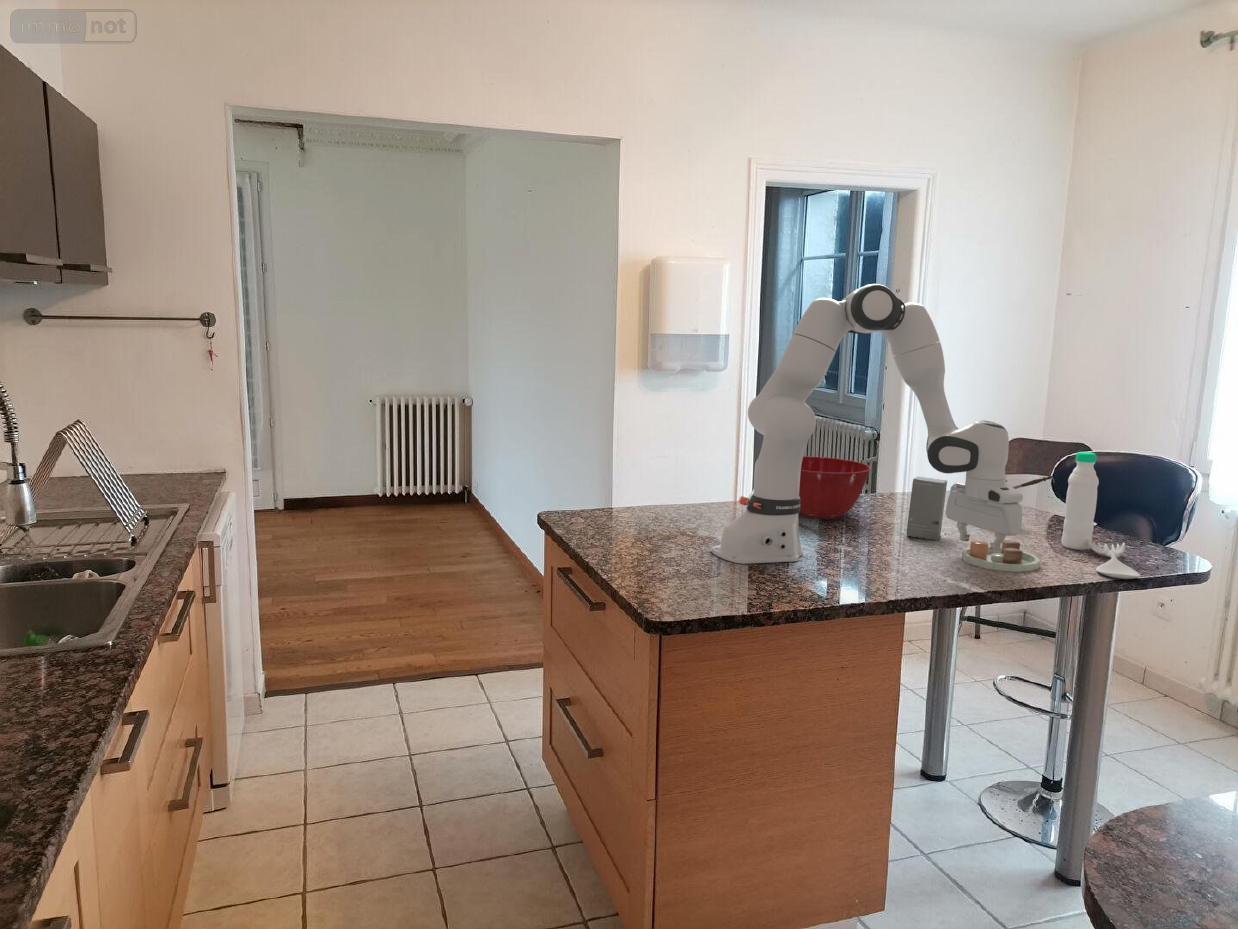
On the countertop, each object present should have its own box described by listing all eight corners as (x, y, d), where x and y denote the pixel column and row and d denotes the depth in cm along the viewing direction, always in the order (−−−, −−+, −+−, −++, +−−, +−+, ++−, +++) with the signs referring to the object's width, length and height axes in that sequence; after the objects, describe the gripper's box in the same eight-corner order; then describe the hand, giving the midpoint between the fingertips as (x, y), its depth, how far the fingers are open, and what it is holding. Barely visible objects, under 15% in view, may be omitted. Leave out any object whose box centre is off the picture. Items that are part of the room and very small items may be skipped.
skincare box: (905, 536, 243) (910, 478, 240) (910, 531, 249) (915, 475, 247) (938, 541, 239) (943, 482, 237) (942, 535, 245) (947, 478, 243)
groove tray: (1001, 578, 206) (1002, 568, 205) (946, 559, 221) (946, 549, 220) (1054, 571, 213) (1055, 561, 212) (997, 553, 228) (997, 543, 227)
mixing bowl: (861, 507, 280) (864, 457, 278) (873, 528, 252) (877, 473, 250) (768, 502, 284) (771, 453, 281) (770, 522, 256) (773, 468, 254)
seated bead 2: (1012, 570, 209) (1014, 553, 209) (998, 565, 213) (1000, 549, 212) (1024, 568, 211) (1026, 551, 210) (1010, 563, 215) (1012, 547, 214)
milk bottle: (1087, 545, 239) (1098, 451, 235) (1094, 551, 232) (1105, 455, 228) (1058, 542, 241) (1068, 449, 236) (1063, 549, 234) (1074, 453, 230)
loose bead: (978, 561, 216) (979, 545, 215) (965, 557, 219) (967, 541, 218) (990, 560, 217) (992, 544, 217) (977, 556, 221) (979, 540, 220)
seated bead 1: (1010, 561, 217) (1011, 545, 216) (997, 557, 220) (998, 541, 220) (1022, 559, 219) (1023, 543, 218) (1008, 555, 222) (1010, 539, 221)
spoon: (1124, 554, 230) (1125, 541, 230) (1143, 587, 201) (1145, 572, 200) (1084, 549, 234) (1086, 536, 233) (1097, 582, 204) (1099, 567, 204)
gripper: (942, 481, 223) (937, 536, 226) (1009, 497, 205) (1003, 557, 207) (961, 480, 226) (956, 534, 228) (1029, 496, 208) (1023, 554, 210)
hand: (979, 545), depth 218 cm, fingers open, 8 cm apart
